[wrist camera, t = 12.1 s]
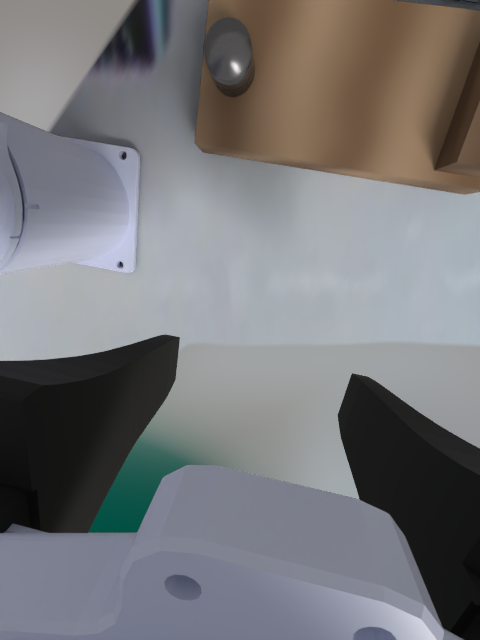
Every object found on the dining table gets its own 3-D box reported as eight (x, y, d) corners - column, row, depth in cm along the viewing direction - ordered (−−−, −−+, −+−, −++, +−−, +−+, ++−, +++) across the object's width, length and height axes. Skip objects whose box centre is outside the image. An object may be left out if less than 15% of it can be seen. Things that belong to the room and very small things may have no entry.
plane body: (203, 152, 18) (183, 131, 14) (218, 8, 15) (199, -62, 12) (464, 194, 17) (519, 184, 13) (523, 47, 14) (610, -17, 11)
